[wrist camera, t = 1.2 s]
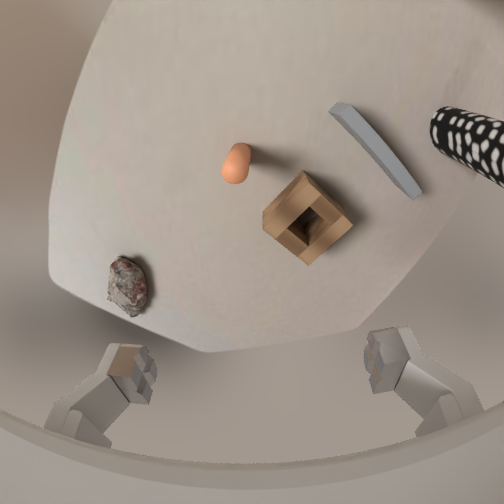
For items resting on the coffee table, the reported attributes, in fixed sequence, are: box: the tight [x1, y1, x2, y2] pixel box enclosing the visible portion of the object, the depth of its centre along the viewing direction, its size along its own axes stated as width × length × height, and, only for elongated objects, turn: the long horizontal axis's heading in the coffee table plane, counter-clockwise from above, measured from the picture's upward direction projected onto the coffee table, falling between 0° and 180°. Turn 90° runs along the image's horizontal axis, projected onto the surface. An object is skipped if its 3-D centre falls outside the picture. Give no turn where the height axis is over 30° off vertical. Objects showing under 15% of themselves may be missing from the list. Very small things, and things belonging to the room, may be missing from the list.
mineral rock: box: [107, 256, 148, 317], centre depth 52 cm, size 15×8×4 cm, turn 156°
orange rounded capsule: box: [221, 143, 251, 184], centre depth 36 cm, size 3×3×10 cm
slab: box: [328, 102, 422, 200], centre depth 36 cm, size 2×16×6 cm, turn 49°
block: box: [263, 171, 353, 265], centre depth 42 cm, size 9×9×6 cm
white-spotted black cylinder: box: [430, 107, 504, 188], centre depth 27 cm, size 8×8×20 cm
